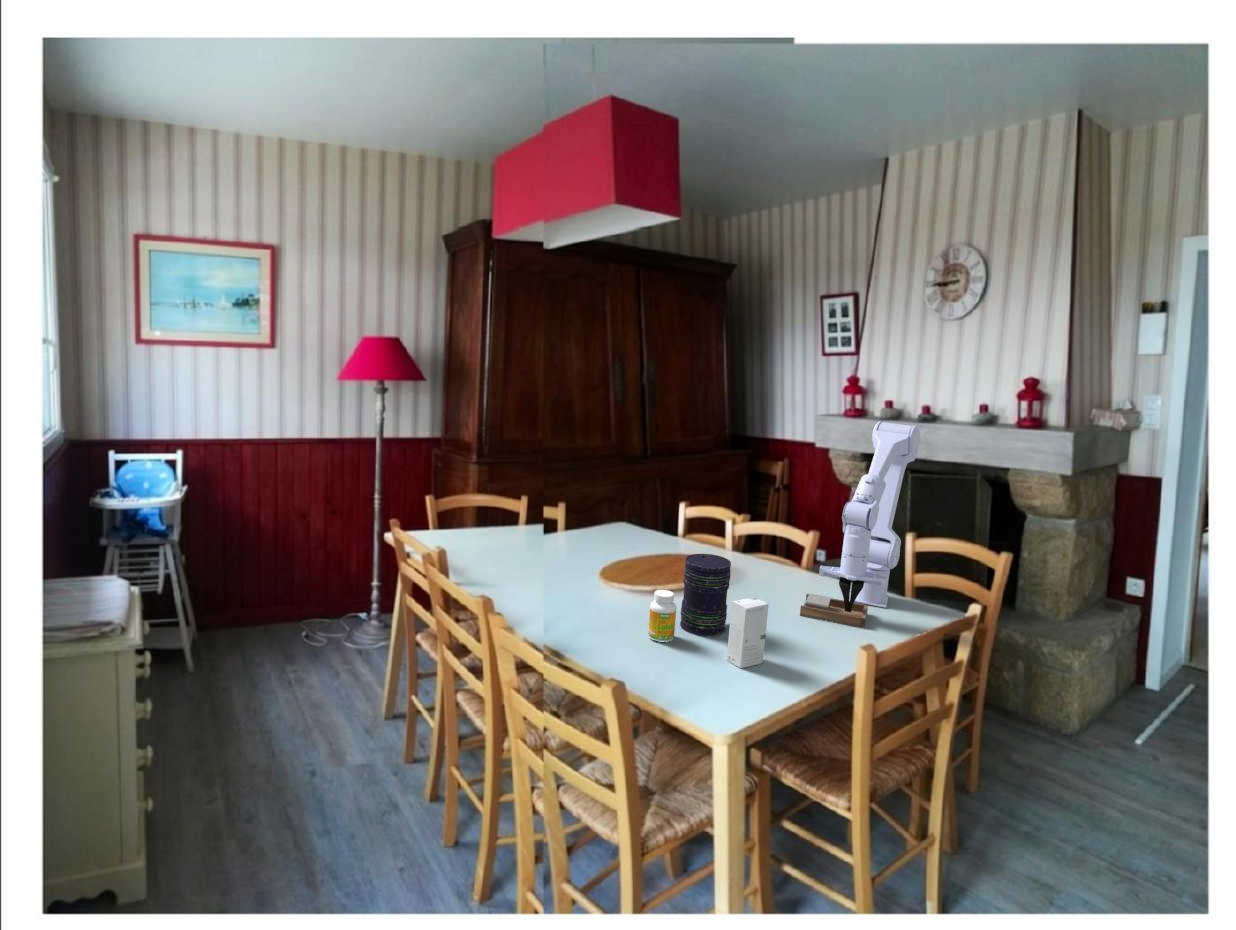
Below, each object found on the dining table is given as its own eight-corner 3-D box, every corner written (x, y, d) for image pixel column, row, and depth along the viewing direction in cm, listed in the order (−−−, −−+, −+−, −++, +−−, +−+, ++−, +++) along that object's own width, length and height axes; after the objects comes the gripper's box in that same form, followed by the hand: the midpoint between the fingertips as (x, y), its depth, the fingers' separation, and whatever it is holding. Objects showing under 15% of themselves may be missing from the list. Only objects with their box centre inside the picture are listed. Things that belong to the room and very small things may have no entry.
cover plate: (808, 603, 172) (809, 593, 172) (829, 607, 170) (831, 597, 170) (804, 611, 167) (805, 601, 166) (826, 616, 165) (828, 605, 164)
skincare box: (740, 669, 137) (746, 609, 134) (725, 660, 140) (730, 601, 138) (764, 663, 140) (770, 604, 138) (748, 653, 144) (754, 596, 142)
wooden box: (805, 602, 174) (806, 593, 174) (867, 614, 169) (868, 605, 169) (799, 615, 166) (800, 606, 165) (863, 628, 160) (865, 619, 160)
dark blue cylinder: (732, 635, 152) (738, 568, 149) (688, 637, 150) (693, 568, 147) (715, 617, 161) (721, 553, 159) (673, 618, 159) (678, 553, 156)
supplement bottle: (656, 645, 145) (659, 599, 143) (643, 634, 150) (646, 590, 148) (678, 641, 148) (682, 596, 146) (665, 631, 152) (668, 587, 151)
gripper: (820, 552, 162) (813, 609, 165) (888, 564, 157) (880, 622, 160) (824, 545, 169) (817, 600, 171) (889, 555, 164) (882, 612, 166)
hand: (848, 610), depth 166 cm, fingers closed
